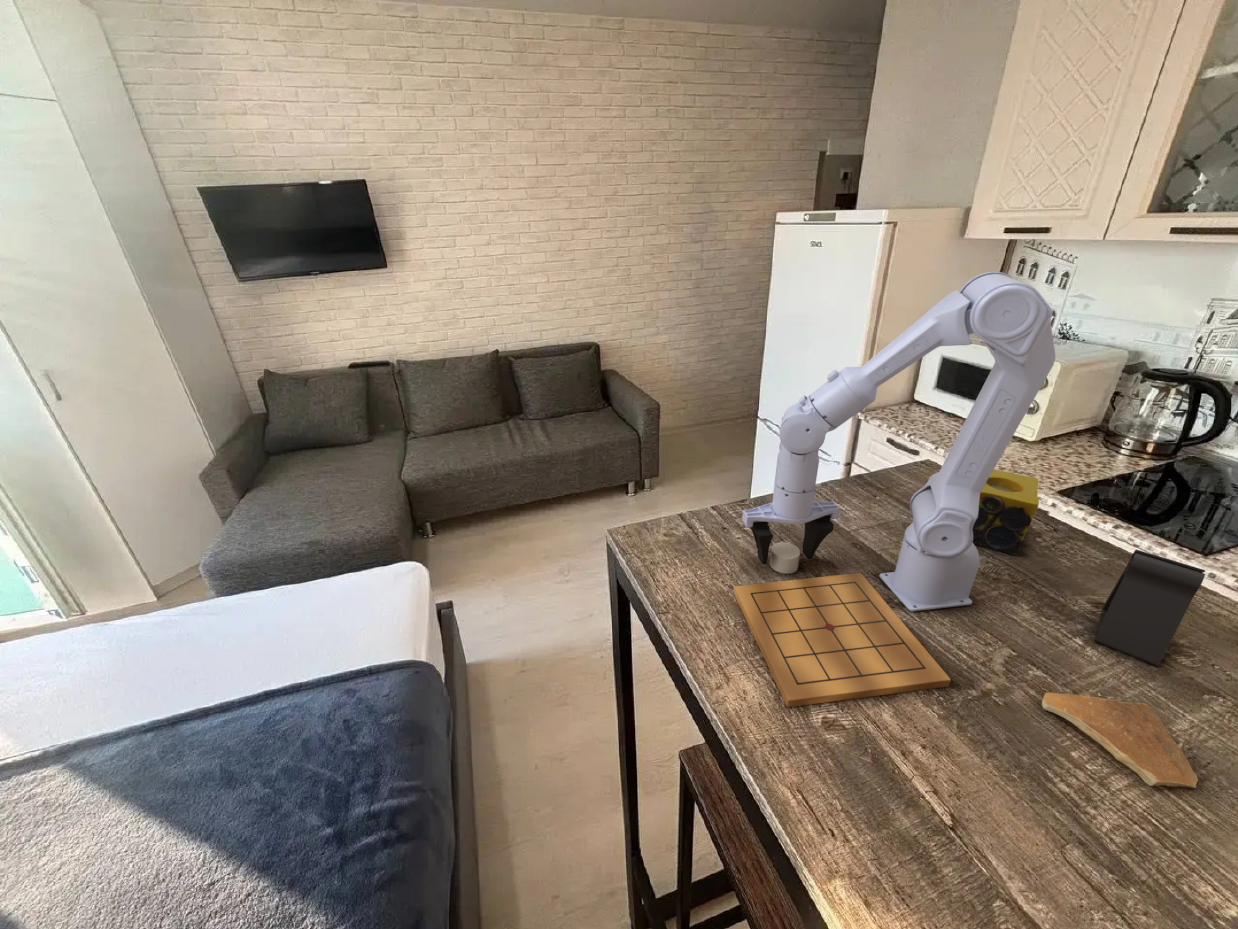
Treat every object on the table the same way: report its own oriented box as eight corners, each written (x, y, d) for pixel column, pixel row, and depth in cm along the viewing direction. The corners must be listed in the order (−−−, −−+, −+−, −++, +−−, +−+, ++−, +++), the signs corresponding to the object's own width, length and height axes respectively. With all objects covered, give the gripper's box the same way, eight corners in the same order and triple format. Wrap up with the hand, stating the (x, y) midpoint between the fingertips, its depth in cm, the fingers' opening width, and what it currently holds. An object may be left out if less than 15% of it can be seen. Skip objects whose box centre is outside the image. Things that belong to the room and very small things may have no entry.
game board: (859, 578, 78) (860, 572, 78) (948, 686, 61) (951, 679, 60) (733, 592, 77) (733, 585, 76) (787, 707, 59) (788, 700, 58)
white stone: (791, 555, 84) (793, 540, 83) (802, 572, 80) (805, 557, 79) (765, 558, 84) (767, 543, 82) (775, 575, 80) (777, 559, 79)
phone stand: (1102, 606, 71) (1139, 535, 66) (1162, 628, 67) (1206, 555, 62) (1092, 641, 66) (1131, 567, 60) (1157, 668, 62) (1204, 591, 56)
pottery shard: (1033, 699, 59) (1040, 684, 58) (1114, 696, 59) (1123, 681, 57) (1113, 792, 49) (1123, 776, 48) (1210, 789, 49) (1222, 773, 48)
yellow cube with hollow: (952, 510, 94) (967, 462, 90) (1020, 527, 89) (1039, 477, 84) (946, 537, 87) (961, 486, 82) (1018, 557, 81) (1039, 504, 77)
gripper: (828, 467, 79) (816, 539, 86) (738, 475, 78) (732, 547, 84) (852, 489, 73) (837, 565, 79) (754, 498, 72) (747, 574, 78)
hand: (784, 558), depth 81 cm, fingers open, 7 cm apart
